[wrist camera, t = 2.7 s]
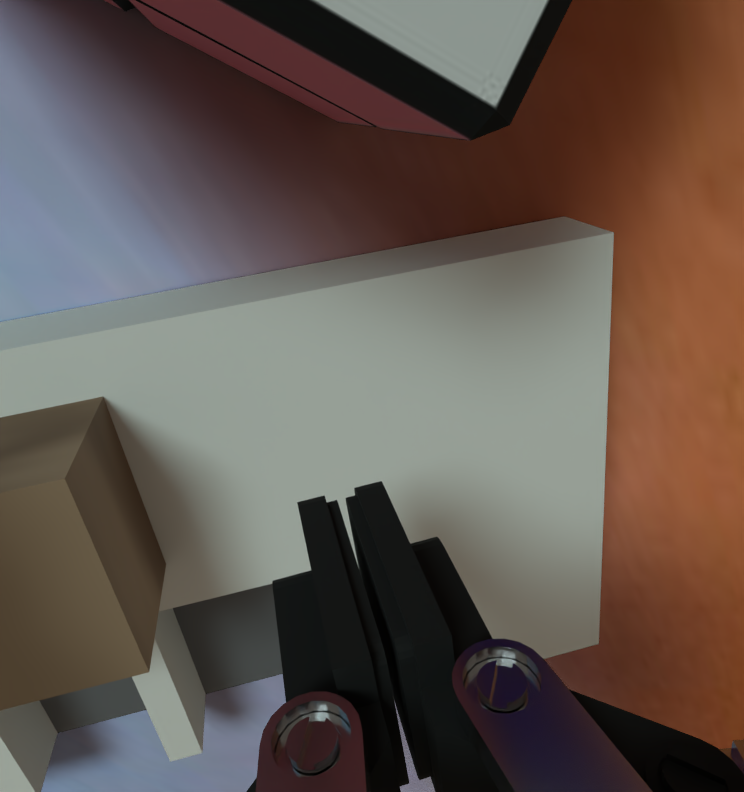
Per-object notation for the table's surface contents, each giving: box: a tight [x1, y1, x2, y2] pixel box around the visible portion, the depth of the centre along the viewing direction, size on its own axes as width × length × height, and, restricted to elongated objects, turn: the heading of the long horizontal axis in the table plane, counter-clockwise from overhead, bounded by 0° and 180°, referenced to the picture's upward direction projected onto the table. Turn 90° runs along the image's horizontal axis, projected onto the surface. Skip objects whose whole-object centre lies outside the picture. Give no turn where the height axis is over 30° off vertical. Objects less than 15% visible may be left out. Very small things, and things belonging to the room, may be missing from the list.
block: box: [0, 397, 166, 711], centre depth 13 cm, size 5×5×4 cm
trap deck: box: [0, 216, 614, 792], centre depth 16 cm, size 25×14×6 cm, turn 98°
